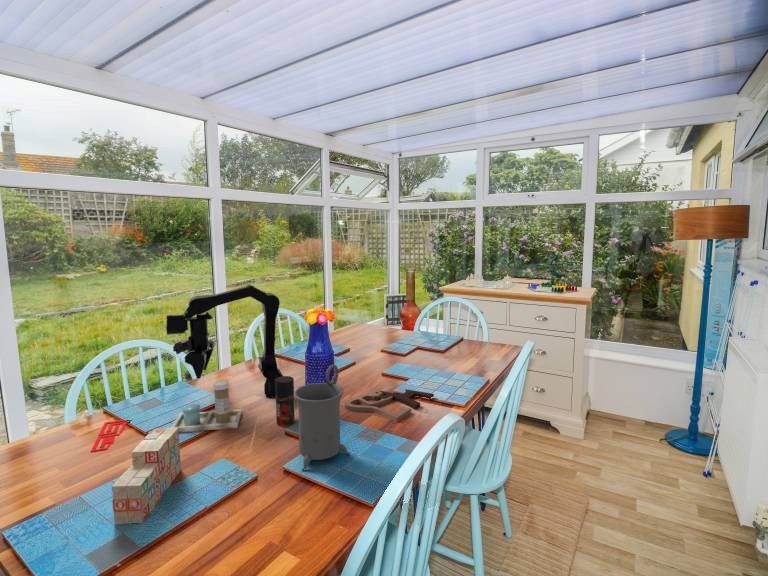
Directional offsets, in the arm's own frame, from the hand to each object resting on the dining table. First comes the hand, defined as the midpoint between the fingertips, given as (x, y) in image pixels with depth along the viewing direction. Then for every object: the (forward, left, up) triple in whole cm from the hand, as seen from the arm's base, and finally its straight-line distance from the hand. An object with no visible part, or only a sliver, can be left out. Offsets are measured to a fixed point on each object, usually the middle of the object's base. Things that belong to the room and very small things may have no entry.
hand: (201, 373), depth 155 cm
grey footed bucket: (-41, +42, -12) cm, 60 cm away
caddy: (-5, +17, -12) cm, 21 cm away
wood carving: (-67, +9, -13) cm, 69 cm away
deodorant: (-30, +19, -12) cm, 37 cm away
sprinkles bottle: (-10, +17, -11) cm, 22 cm away
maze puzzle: (+17, +17, -13) cm, 27 cm away
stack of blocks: (+1, +53, -12) cm, 54 cm away
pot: (0, +17, -11) cm, 20 cm away
